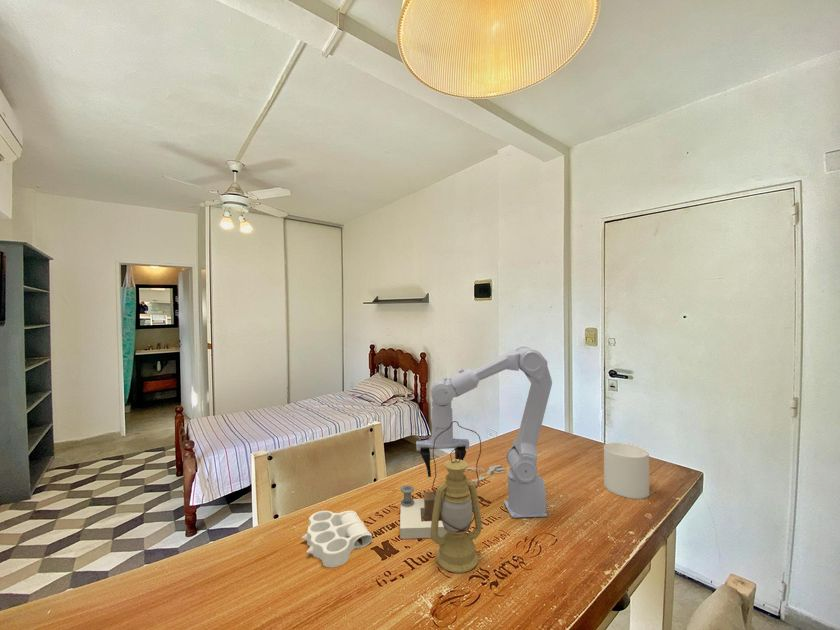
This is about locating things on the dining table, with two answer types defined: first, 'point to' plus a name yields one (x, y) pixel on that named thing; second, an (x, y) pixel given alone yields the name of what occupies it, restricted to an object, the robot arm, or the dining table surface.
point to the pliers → (489, 471)
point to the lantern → (456, 517)
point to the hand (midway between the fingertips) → (443, 474)
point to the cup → (626, 470)
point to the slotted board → (415, 517)
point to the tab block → (428, 505)
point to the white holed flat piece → (335, 536)
